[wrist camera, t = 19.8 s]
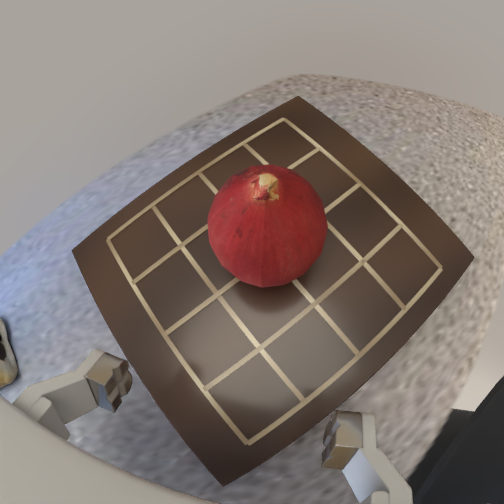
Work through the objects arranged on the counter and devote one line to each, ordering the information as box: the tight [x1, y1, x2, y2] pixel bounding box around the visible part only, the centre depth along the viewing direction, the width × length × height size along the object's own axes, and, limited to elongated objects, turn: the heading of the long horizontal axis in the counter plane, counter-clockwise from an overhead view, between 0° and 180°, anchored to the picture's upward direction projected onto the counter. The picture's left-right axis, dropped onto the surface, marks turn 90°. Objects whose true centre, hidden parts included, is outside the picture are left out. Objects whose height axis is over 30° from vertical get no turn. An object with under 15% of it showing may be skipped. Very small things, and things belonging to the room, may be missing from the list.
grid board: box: [72, 96, 474, 486], centre depth 19 cm, size 19×22×2 cm
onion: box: [207, 164, 328, 288], centre depth 15 cm, size 6×6×8 cm
